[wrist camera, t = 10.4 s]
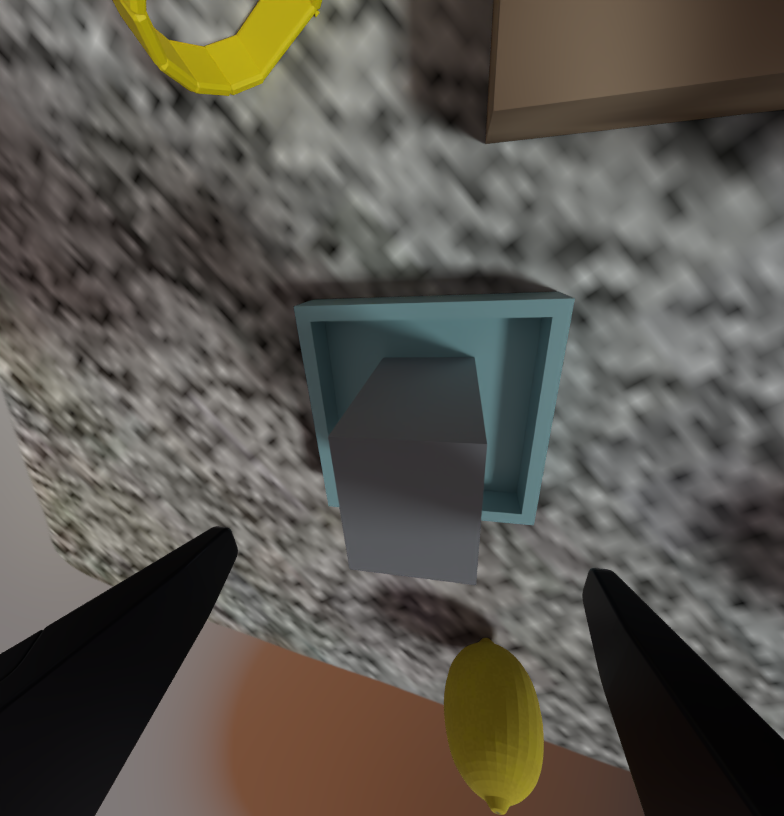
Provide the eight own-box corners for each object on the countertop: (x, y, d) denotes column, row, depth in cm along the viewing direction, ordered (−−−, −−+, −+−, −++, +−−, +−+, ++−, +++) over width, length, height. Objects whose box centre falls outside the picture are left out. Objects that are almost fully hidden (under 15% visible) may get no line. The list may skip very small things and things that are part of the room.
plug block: (474, 357, 14) (487, 444, 8) (469, 455, 16) (475, 585, 10) (383, 357, 15) (327, 436, 8) (389, 451, 17) (349, 569, 11)
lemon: (433, 619, 23) (422, 784, 16) (511, 608, 21) (538, 790, 14) (464, 665, 25) (467, 832, 18) (539, 658, 23) (576, 844, 16)
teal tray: (558, 291, 13) (574, 298, 11) (525, 496, 17) (533, 525, 15) (313, 299, 15) (293, 306, 13) (340, 482, 19) (328, 506, 17)
